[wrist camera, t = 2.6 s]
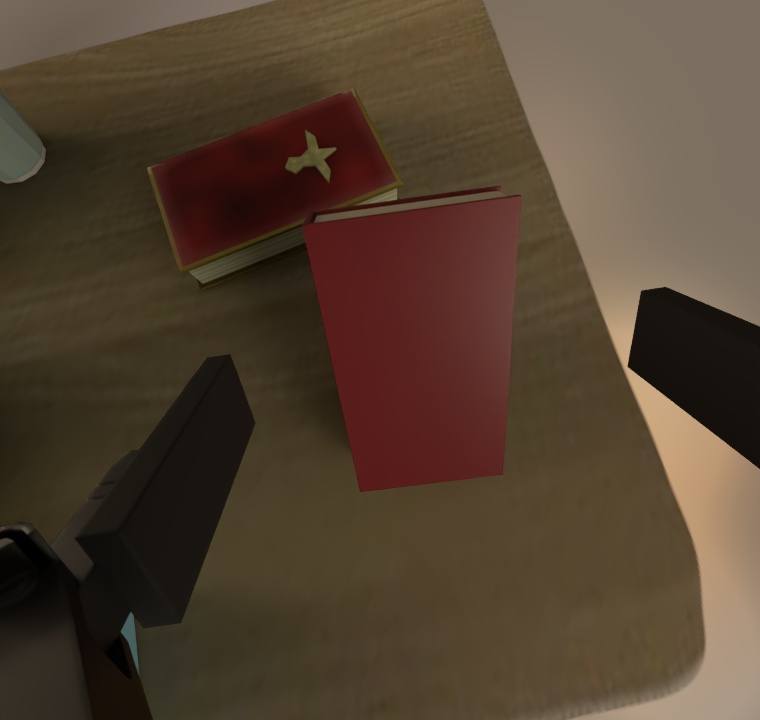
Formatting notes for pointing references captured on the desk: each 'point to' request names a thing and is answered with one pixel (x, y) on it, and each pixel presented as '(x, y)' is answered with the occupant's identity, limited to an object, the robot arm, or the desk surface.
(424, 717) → the desk surface
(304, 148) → the hardcover book
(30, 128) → the disposable coffee cup
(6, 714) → the robot arm
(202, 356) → the desk surface
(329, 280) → the book
